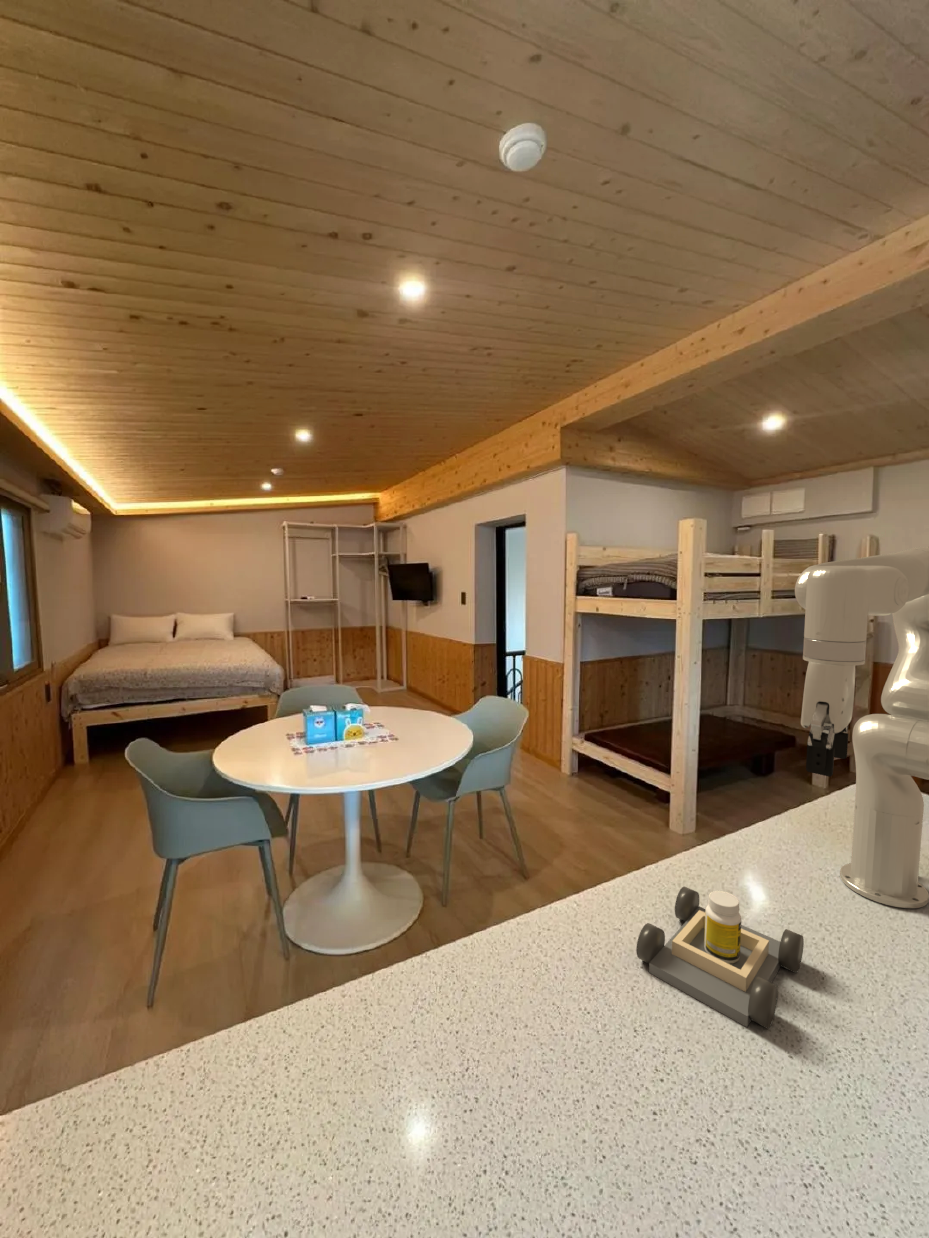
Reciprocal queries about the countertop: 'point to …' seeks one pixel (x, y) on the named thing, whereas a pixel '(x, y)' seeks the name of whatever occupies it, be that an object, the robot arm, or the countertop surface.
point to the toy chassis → (720, 964)
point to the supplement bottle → (723, 927)
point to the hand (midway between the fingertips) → (826, 764)
